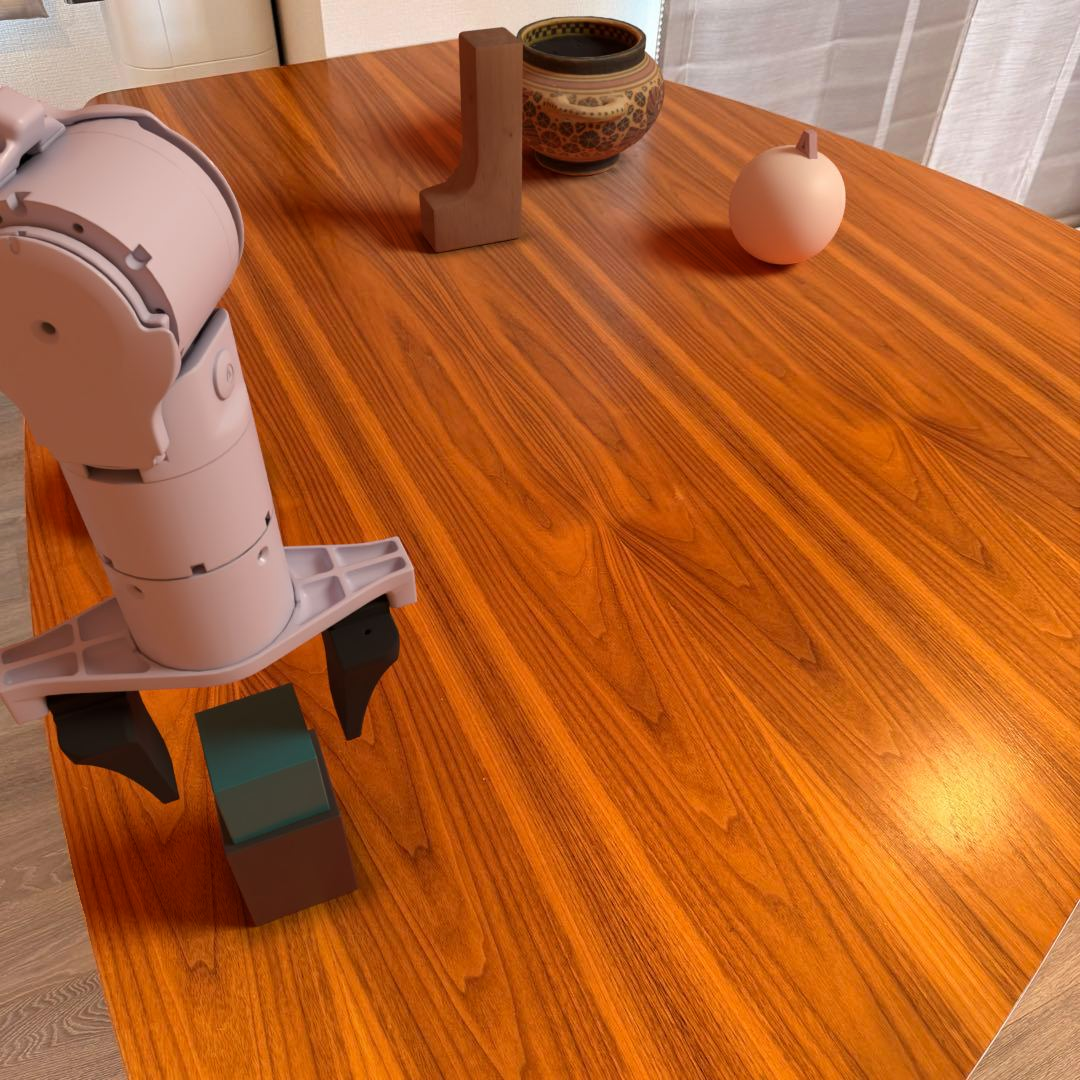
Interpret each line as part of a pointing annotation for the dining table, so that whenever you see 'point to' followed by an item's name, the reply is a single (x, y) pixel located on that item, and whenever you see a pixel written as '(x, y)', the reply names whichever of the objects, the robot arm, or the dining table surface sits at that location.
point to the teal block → (261, 762)
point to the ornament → (787, 202)
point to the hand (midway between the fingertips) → (260, 751)
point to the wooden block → (482, 149)
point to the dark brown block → (293, 860)
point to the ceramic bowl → (586, 91)
